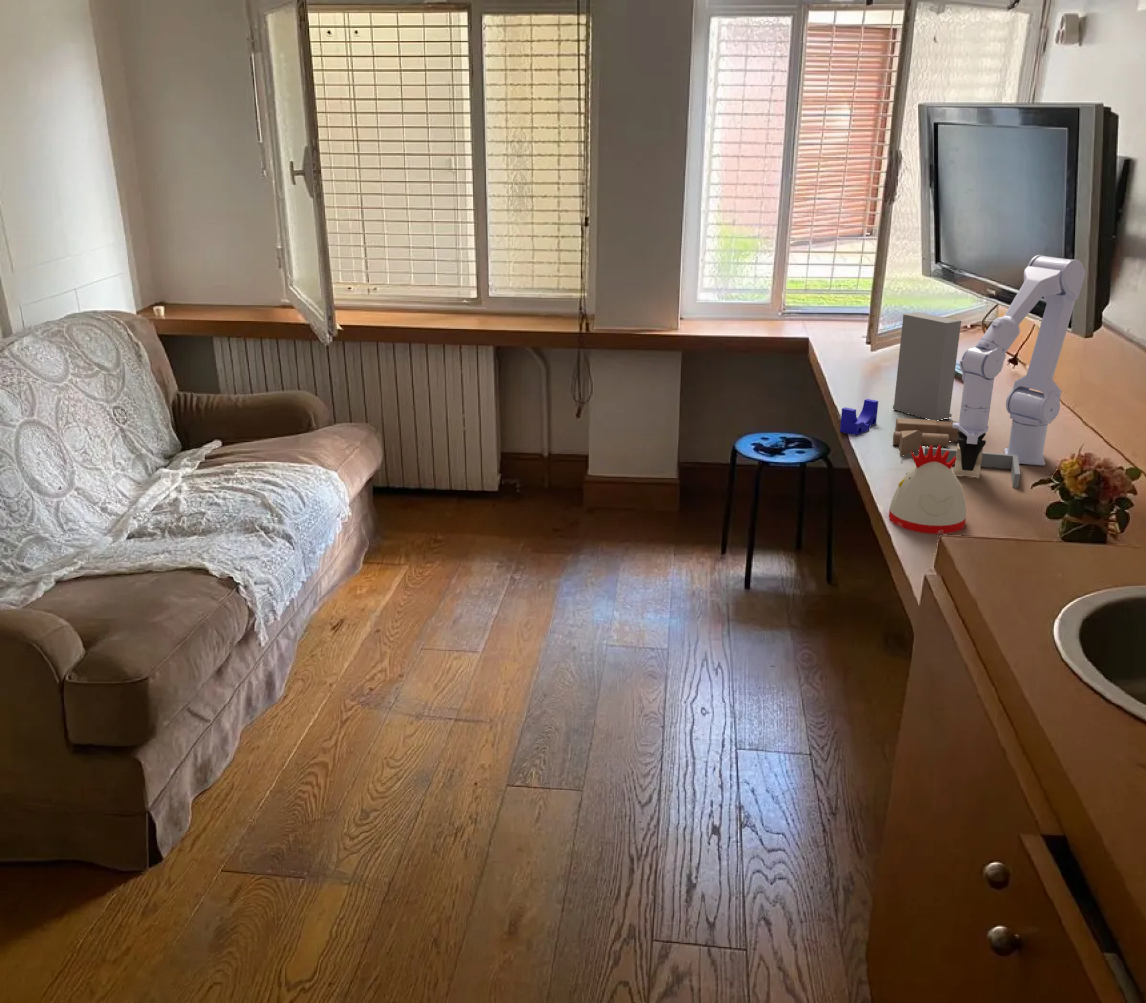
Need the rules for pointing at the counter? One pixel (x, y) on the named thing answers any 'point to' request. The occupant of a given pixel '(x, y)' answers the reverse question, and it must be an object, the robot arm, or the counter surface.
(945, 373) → the tall grey upright block
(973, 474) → the birch block
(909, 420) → the wooden block set
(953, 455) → the grey open bracket
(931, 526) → the kitchen timer
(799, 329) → the counter surface
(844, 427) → the cable clip
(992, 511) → the counter surface
